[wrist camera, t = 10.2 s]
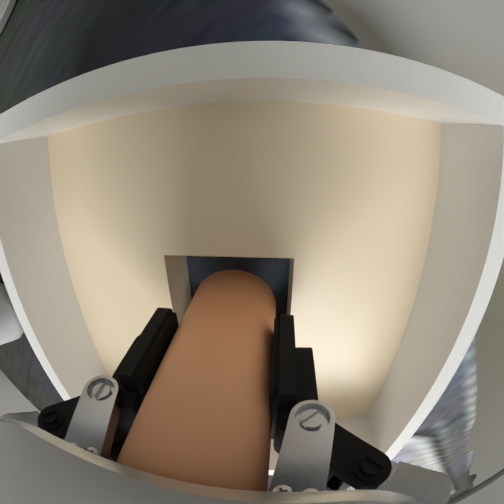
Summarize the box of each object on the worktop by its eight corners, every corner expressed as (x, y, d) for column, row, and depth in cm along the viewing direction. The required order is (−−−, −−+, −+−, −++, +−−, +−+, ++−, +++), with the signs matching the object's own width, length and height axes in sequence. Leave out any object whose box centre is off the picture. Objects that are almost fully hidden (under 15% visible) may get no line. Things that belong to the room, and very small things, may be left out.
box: (69, 120, 12) (-23, 129, 6) (426, 109, 11) (519, 104, 4) (126, 377, 20) (93, 439, 14) (369, 391, 18) (386, 464, 12)
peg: (191, 267, 13) (79, 463, 4) (277, 270, 12) (267, 508, 3) (199, 334, 14) (137, 509, 5) (274, 338, 14) (262, 532, 5)
